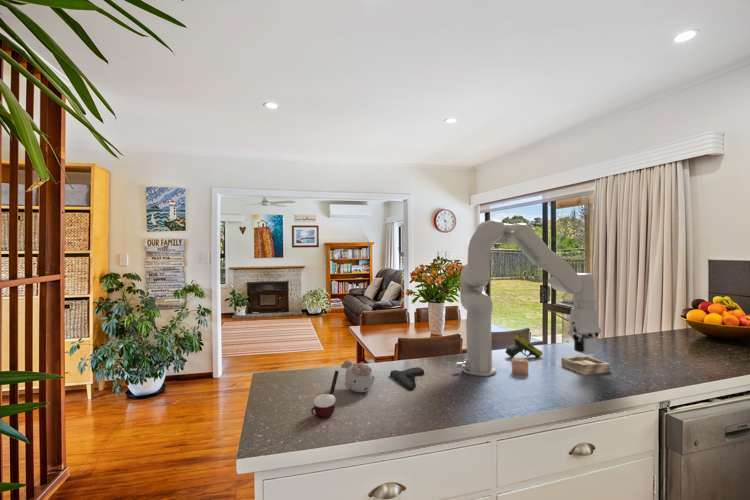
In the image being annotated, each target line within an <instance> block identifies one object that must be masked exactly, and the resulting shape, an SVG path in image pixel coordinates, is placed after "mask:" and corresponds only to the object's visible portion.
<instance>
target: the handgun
mask: <svg viewBox="0 0 750 500" xmlns="http://www.w3.org/2000/svg"><path fill="white" fill-rule="evenodd" d="M418 376H425V370H424V369H422V368H421V367H419V366H417V367H412V368H409V369H404V370H397V369H394V370H391V371H390V373H389V377H390V378H392V379H393V378H394V380H395V381H396V382H398V383H399V384H400V385H402V386H404V388H405V389H407V390H410V391H413V390H414V389H415V388H416V387H417V385H416V377H418Z"/></svg>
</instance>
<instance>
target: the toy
mask: <svg viewBox="0 0 750 500" xmlns="http://www.w3.org/2000/svg"><path fill="white" fill-rule="evenodd" d="M340 368H341V369H345V370H346V371H345V373H344V374H345V375H344V377H345V381H344V383H343V384H344V386H345V388H346V390H348V391H350V390H352V391H353V392H355V393H366V392H368V391H369V390H371V388H372V387H373V385H374V382H375V375H374V374H373V372H372V371H373V369H372V367H370V366H369V365H368V364H365V363H364V362H358V363H357V362H355V363H354V362H353V360H350V359H346V360H345V361H343V363H342V364H341V365H340Z"/></svg>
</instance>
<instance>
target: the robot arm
mask: <svg viewBox="0 0 750 500" xmlns="http://www.w3.org/2000/svg"><path fill="white" fill-rule="evenodd" d="M494 244H500V245H516V247H517V248H518V249H519V250H520V251H521V252H522V253H523V255H524V256H526V258H527V259H528V260H529V261H530V262H531V263H532V264H533V265H534V266H536V267H538V268H540V269H541V270H544V271H546V272H547V273H549V275H550V276H551V277H550V280H549V283H550V286H551V288H552V289H553V290H555V291H557V292H561V293H565V294H570V295H572V304H573V305H572V307H571V309H570V314H569V330H568V331H567V335H569V336H570V337H571V339H573V341H574V340H575V350H576V351H575V352H577V351H579V352H578V353H580V352H582V351H583V349H582V342H581V338H582V334H587V335H588V336H591V337H595V338H596V339H597V338H598V336H599V335H600V334H601V332H602V329H601V327H599V316H598V312H597V308H596V305H597V301H596V299H595V298H596V297H595V295H596V292H595V276H594V275H593V274H592V273H590V272H589V273H588V272H577V271H576V269H574V268H573V266H571V265H570V264H569V263H568V262H567V261H566V260H565V259H563V258H562V257H561V256H559V255H558V254H557V253H555V252H554V251H553V250H552V249H551V248H550V247H548V245H547V244H546V243H545V242H544V240H543V239H541V237H540V236H539V235H538V233H537V232H535V231H534V230H533V229H532V227H531V226H530V225H529V224H527V223H523V222H518V223H504V222H502V221H501V220H499V219H489V220H485V221H483V222H481V223H479V224H478V225H477V227H476V229H475V232H474V233H473V235H472V236H471V238H470V239H469V243H468V247H467V264H465V265H464V266H463V267H462V269H461V272H460V290H459V296H460V297H459V299H460V304H461V305H462V307H463V308H464V309H465V310H466V319H465V320H466V321H465V322H466V323H465V331H466V332H465V333H466V334H465V335H466V337H465V338H466V358H464V360H463V361H462V362H460V361H459V362H455V364H454V365H455V368H461V369H462V371H463V372H464V373H465V374H468V375H471V376H477V377H489V376H494V375H495V374H496V373H497V368H495V367H494V366H493V355H492V354H493V352H492V346H493V345H492V318H493V317H492V315H493V300H492V299H491V297H490V295H488V294H487V292H484V287H486V286H487V285H488V284H489V283H490V279H491V259H490V258H491V252H492V251H491V250H492V247H493V246H494ZM577 336H578V337H577Z"/></svg>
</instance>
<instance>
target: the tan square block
mask: <svg viewBox="0 0 750 500" xmlns="http://www.w3.org/2000/svg"><path fill="white" fill-rule="evenodd" d="M511 373H512V374H513V375H516V376H528V375H529V359H526V358H522V357H513V358H511Z"/></svg>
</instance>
